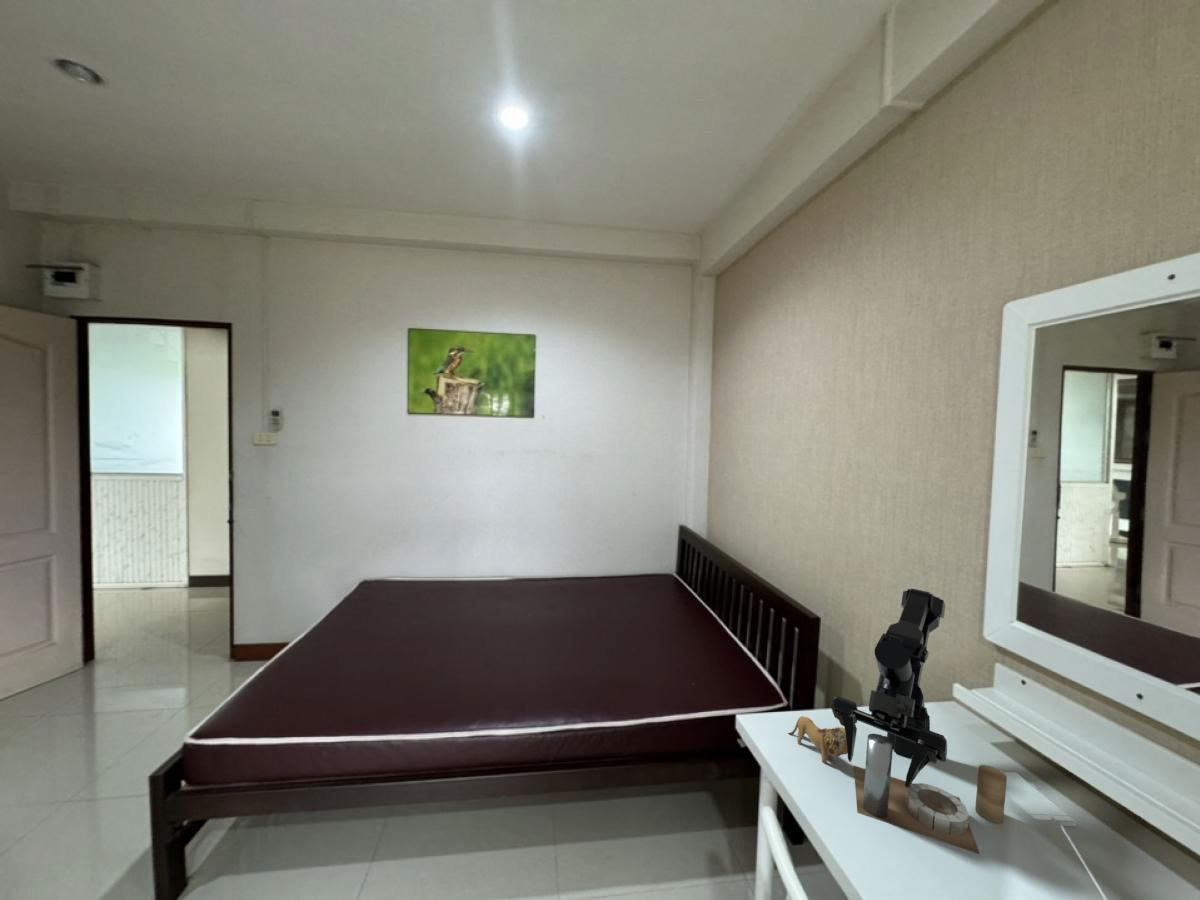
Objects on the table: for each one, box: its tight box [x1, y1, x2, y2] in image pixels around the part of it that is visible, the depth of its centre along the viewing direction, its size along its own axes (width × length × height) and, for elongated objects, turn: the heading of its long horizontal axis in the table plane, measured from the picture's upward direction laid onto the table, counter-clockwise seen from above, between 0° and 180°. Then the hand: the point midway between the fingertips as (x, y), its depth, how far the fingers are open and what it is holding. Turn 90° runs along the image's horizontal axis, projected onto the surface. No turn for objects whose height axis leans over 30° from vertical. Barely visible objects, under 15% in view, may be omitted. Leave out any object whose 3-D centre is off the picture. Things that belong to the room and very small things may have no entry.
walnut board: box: [853, 765, 981, 855], centre depth 90 cm, size 14×18×1 cm
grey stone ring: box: [906, 782, 970, 836], centre depth 88 cm, size 9×9×2 cm
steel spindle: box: [863, 733, 894, 818], centre depth 88 cm, size 4×4×13 cm
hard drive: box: [1002, 771, 1077, 827], centre depth 94 cm, size 2×8×12 cm
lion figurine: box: [787, 716, 848, 764], centre depth 104 cm, size 15×5×9 cm, turn 35°
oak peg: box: [974, 764, 1007, 825], centre depth 88 cm, size 4×4×9 cm
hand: (877, 773), depth 87 cm, fingers open, 9 cm apart
